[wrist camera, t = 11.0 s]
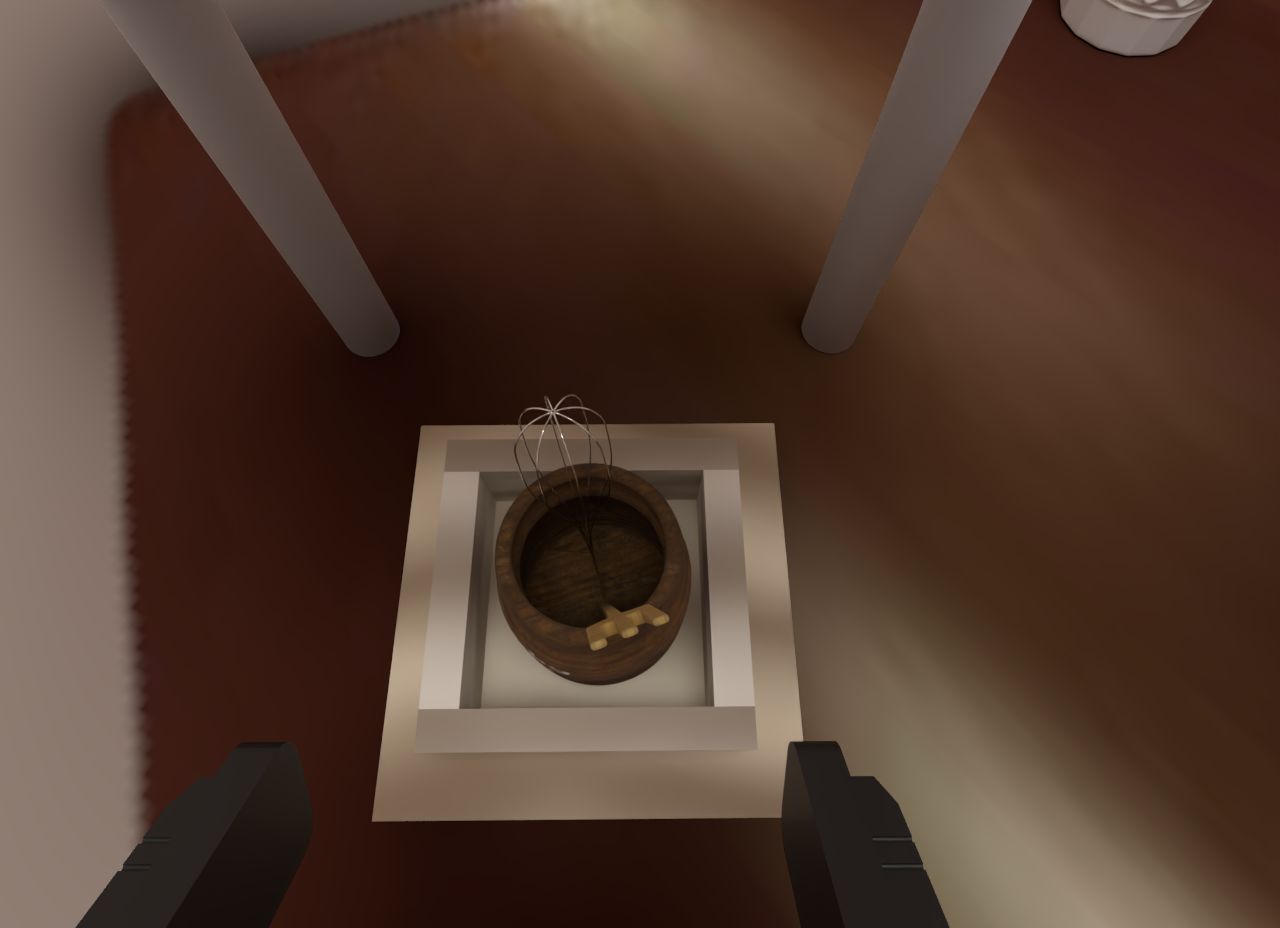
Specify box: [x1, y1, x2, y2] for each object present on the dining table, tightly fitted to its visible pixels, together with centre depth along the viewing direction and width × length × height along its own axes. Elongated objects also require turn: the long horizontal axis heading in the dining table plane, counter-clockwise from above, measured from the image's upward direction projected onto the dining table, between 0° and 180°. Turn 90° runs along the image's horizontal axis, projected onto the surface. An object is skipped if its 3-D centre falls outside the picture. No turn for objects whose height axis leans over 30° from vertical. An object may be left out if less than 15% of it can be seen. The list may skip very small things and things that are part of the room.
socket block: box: [372, 423, 803, 821], centre depth 24 cm, size 14×14×4 cm
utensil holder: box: [495, 394, 691, 685], centre depth 19 cm, size 6×6×12 cm
